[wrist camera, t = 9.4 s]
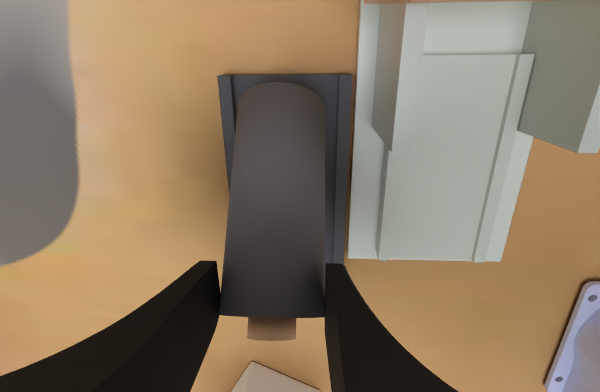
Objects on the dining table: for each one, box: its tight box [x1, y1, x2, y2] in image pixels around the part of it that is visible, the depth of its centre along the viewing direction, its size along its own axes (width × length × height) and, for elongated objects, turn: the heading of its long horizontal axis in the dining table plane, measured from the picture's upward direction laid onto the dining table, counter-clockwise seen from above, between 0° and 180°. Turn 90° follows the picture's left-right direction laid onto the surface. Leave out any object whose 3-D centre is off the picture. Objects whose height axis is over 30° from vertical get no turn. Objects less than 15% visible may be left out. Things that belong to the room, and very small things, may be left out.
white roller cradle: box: [347, 0, 600, 263], centre depth 15 cm, size 14×9×6 cm, turn 1°
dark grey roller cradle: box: [218, 74, 352, 266], centre depth 19 cm, size 12×6×1 cm, turn 1°
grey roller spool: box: [219, 82, 325, 341], centre depth 14 cm, size 11×4×4 cm
